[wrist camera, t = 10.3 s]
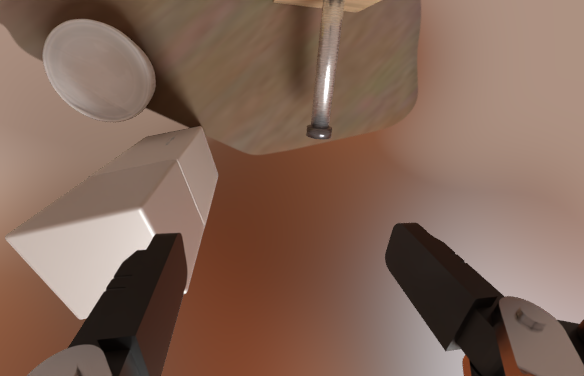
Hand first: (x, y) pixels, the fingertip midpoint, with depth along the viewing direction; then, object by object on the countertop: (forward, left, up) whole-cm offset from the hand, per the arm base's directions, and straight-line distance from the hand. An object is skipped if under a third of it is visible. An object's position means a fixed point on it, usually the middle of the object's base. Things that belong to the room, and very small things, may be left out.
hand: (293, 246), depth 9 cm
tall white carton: (+8, -12, -33) cm, 36 cm away
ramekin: (-4, -19, -33) cm, 39 cm away
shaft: (-8, +8, -27) cm, 29 cm away
